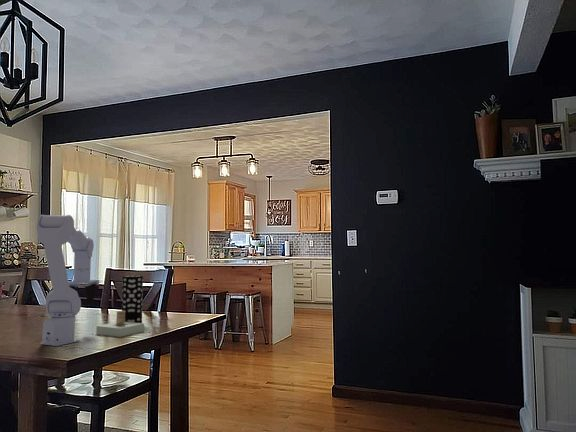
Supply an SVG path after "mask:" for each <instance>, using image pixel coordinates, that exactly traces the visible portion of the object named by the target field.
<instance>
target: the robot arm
mask: <svg viewBox="0 0 576 432" xmlns="http://www.w3.org/2000/svg"><path fill="white" fill-rule="evenodd" d="M35 227H36V231H37V237H38V240H39V243H41V244H42V245H43V247H44V253H45V258H46V263H47V268H48V272H49V277H50V283H51V288H52V290H50V291H49V292H48V293H47V295H46V296H45V310H46V311H45V312H46V313H47V314H48V316H49V318H46V319H45V320H44V322H43V324H42V336H41V342H40V345H47V346H53V347H58V346H62V345H63V346H64V345H67V344H71V343H77V342H80V341H81V340H80V339H78V338H75V325H76V323H75V321H76V316H77V315H78V314H79V313H80V311H81V308H82V299H81V298H80V295H79V293H78V291H79V288H77V287H84V288H85V294H86V305H90V306H91V305H93V302H94V299H95V296H96V294H97V292H98V291H99V289H100V279H91V268H92V267H91V264H92V262H91V260H92V259H91V258H92V257H93V251H94V246H95V245H94V240H93V239H92V238H91V237H87V236H86V235H85V234H84V233H83V231H81V230H80V228H75V220H74V218H73V216H72V215H70V214H67V215H65V214H64V215H63V214H62V215H60V214H59V215H57V214H56V215H52V214H51V215H50V214H49V215H48V214H47V215H46V214H41V215H39V217H38V219H37V221H36V226H35ZM66 243H68V244H70V247H71V250H72V253H73V254H74V260H73V264H74V265H73V281H69V277H68V273H67V268H66V262H65V258H64V253H63V247H62V246H63V245H65V244H66Z"/></svg>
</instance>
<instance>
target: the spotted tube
mask: <svg viewBox="0 0 576 432" xmlns="http://www.w3.org/2000/svg"><path fill="white" fill-rule="evenodd" d="M121 283H122V286H121V311H125V322H133V323H143V299H144V298H143V295H144V294H143V293H144V291H143V289H144V284H143V283H144V275H123V276H122V280H121Z"/></svg>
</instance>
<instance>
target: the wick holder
mask: <svg viewBox="0 0 576 432" xmlns="http://www.w3.org/2000/svg"><path fill="white" fill-rule="evenodd" d="M116 323H117V321H116V322H115V321H114V322H110V323H107V324H106V323H105V324H100V325H96V332H95V333H96V335H101V336H109V337H117V338H119V337H120V338H121V337H125V336H130V335H134V334H139V333H142V332H145V322H144V323H143V322H142V323H133V322H125V325H123V326H116Z"/></svg>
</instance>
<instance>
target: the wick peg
mask: <svg viewBox="0 0 576 432" xmlns="http://www.w3.org/2000/svg"><path fill="white" fill-rule="evenodd" d="M116 322H117V323H116V326H123V325H125V311H122V310H119V311H116Z"/></svg>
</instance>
